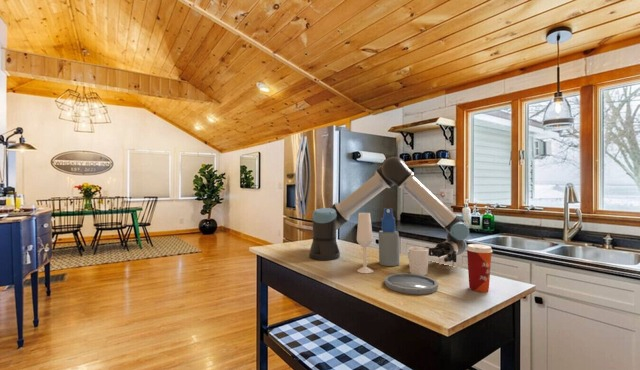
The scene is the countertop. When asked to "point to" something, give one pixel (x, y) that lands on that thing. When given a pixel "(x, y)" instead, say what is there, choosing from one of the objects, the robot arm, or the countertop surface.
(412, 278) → the plate
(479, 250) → the coffee cup
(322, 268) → the countertop surface
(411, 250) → the white cup
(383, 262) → the spray bottle
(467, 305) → the countertop surface
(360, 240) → the champagne flute
